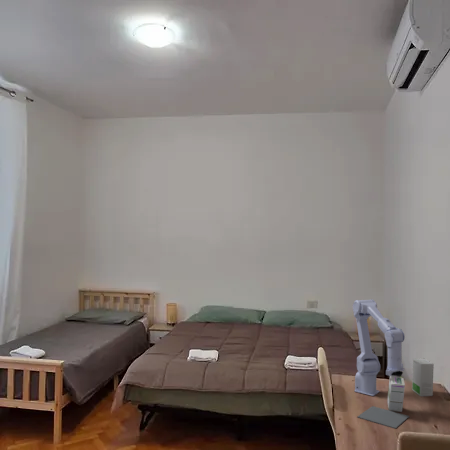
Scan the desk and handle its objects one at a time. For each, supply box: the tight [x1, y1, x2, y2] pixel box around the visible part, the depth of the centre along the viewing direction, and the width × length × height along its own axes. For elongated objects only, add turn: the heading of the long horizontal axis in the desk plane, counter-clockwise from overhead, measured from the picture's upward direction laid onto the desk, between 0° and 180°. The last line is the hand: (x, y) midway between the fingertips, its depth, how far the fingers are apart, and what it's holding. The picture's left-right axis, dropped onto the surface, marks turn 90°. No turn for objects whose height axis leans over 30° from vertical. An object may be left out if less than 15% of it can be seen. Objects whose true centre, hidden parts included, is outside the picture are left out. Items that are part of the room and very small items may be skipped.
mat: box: [356, 405, 410, 429], centre depth 190 cm, size 16×15×1 cm
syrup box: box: [386, 375, 406, 413], centre depth 195 cm, size 6×6×14 cm
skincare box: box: [411, 357, 435, 397], centre depth 217 cm, size 8×7×16 cm
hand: (394, 388), depth 199 cm, fingers closed
